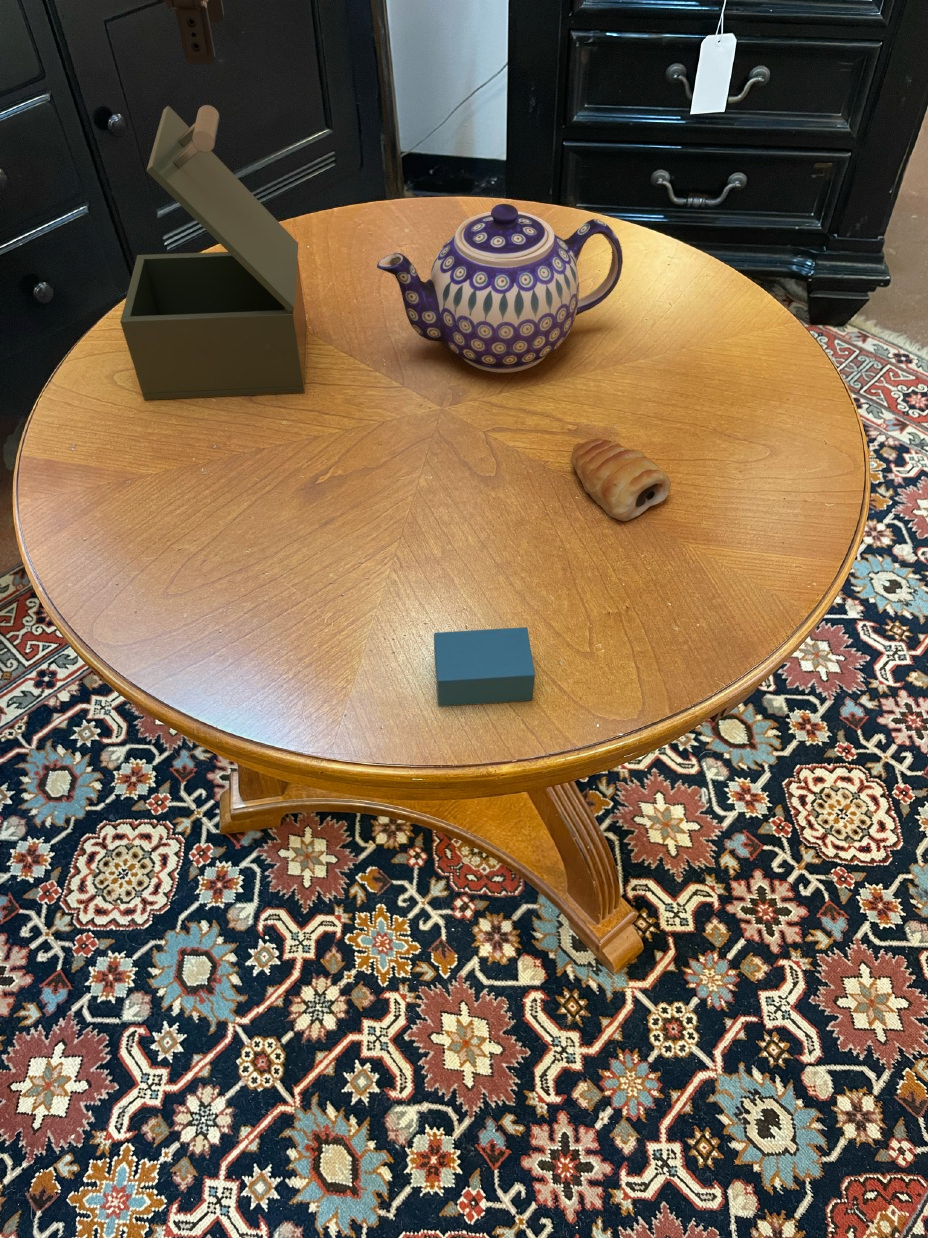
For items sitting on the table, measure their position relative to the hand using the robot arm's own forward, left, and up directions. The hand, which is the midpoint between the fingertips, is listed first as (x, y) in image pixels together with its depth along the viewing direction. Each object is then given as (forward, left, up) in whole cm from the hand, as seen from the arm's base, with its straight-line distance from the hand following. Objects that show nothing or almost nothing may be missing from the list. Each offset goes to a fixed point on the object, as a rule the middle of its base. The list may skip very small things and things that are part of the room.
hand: (206, 40), depth 75 cm
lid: (-1, 0, -14) cm, 14 cm away
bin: (-4, 0, -30) cm, 30 cm away
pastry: (+32, -22, -30) cm, 49 cm away
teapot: (+24, +1, -30) cm, 39 cm away
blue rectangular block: (+18, -42, -30) cm, 55 cm away
